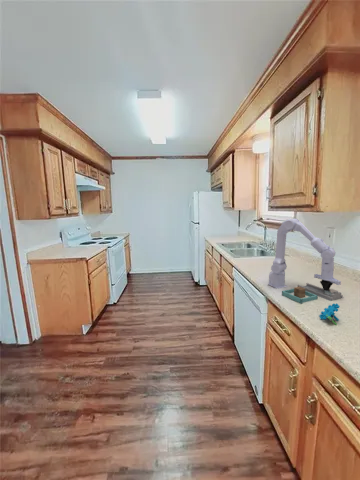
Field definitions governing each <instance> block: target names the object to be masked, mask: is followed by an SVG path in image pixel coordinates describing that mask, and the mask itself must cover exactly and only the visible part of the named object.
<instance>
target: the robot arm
mask: <svg viewBox="0 0 360 480" xmlns="http://www.w3.org/2000/svg"><path fill="white" fill-rule="evenodd" d="M291 231H293V232H298V233H299V232H300V234H302V235H303V236H304V237H305V238H306V239H307V240H308V241H310V245H311V246H312V247H313V249H315V250H316V251H317V252H318V253H319V254H320V257H321V269H320V274H318V273H315V274H314V275H313V278H314V279H319V280H320V281H319V283H320V285H321V286H322V287H321V288H323V290H328V289H331V287H332V285H336V286H340V285H341V284H342V283H341V282H342V281H341V280H338V279H337V278H335V277H334V268H335V262H334V261H335V258H334V257H335V256H336V250H335V249H334V247H331V246H330V245H328V244H326V243H325V241H324V239H323V238H320V237H316V236H315V235H314V234H313V233H312V232H311V231H310V229H308V228H307V227H306V225H304V223H303V222H302V221H300V220H299V219H298V218H294V217H293V218H289V219H286V220H284V221H283V222H281V225H279V227H278V229H277V233H276V244H275V246H276V247H275V256H274V257H275V258H274V259H273V262H272V265H271V267H270V270H271V271H270V272H269V274H268V283H267V285H269V286H271V287H272V288H275V289H281V288H287V287H289V286H288V285H285V283H286V282H285V281H286V272H285V271H286V269H287V264H286V263H287V262H286V261H287V260H286V258H285V255H286V254H285V253H286V243H287V234H288V233H289V232H291Z"/></svg>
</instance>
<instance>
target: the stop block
mask: <svg viewBox="0 0 360 480" xmlns="http://www.w3.org/2000/svg"><path fill="white" fill-rule="evenodd" d="M293 289H294V292H293V295H294V296H296V297H298V298H301V299H302V298H306V295H305V288H302V287H300V286H299V287H298V286H296V287H293Z"/></svg>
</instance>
